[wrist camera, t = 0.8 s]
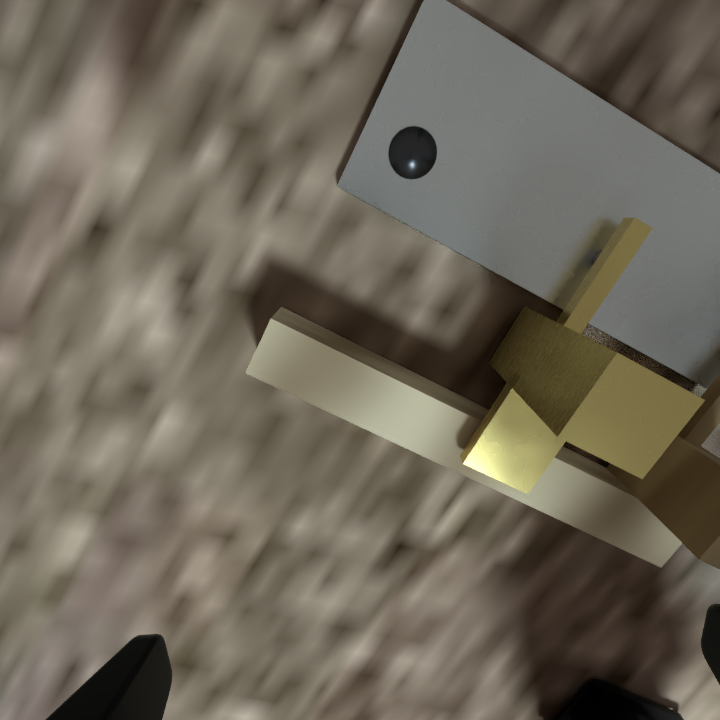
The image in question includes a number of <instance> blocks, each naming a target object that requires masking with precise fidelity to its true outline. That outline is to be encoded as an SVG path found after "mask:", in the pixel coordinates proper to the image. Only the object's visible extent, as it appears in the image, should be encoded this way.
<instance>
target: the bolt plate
mask: <svg viewBox="0 0 720 720" xmlns="http://www.w3.org/2000/svg"><path fill="white" fill-rule="evenodd" d="M337 187H339V188H341V189H342V190H344V191H346V192H348V193H350V194H352V195H353V196H355V197H357V198H359V199H361V200H363V201H364V202H366V203H368V204H370V205H372V206H374V207H375V208H377V209H379V210H381V211H383V212H385V213H386V214H388V215H390V216H392V217H394V218H396V219H397V220H399V221H401V222H403V223H405V224H406V225H408V226H410V227H412V228H414V229H416V230H417V231H419V232H421V233H423V234H425V235H427V236H428V237H430V238H432V239H434V240H436V241H438V242H439V243H441V244H443V245H445V246H447V247H449V248H450V249H452V250H454V251H456V252H458V253H460V254H461V255H463V256H465V257H467V258H469V259H470V260H472V261H474V262H476V263H478V264H480V265H481V266H483V267H485V268H487V269H489V270H491V271H492V272H494V273H496V274H498V275H500V276H502V277H503V278H505V279H507V280H509V281H511V282H513V283H514V284H516V285H518V286H520V287H522V288H524V289H525V290H527V291H529V292H531V293H533V294H534V295H536V296H538V297H540V298H542V299H544V300H545V301H547V302H549V303H551V304H553V305H555V306H556V307H558V308H560V309H562V310H564V309H565V307H566V306H567V304H568V302H569V301H570V299H571V298H572V296H573V295H574V293H575V292H576V290H577V289H578V287H579V286H580V284H581V283H582V281H583V280H584V278H585V276H586V275H587V273H588V272H589V270H590V269H591V267H592V266H593V265H592V259H593V257H594V255H595V254H596V253H597V252H599V251H601V250H603V249H604V247H605V246H606V244H607V243H608V241H609V240H610V238H611V237H612V235H613V234H614V232H615V231H616V229H617V228H618V226H619V225H620V223H621V221H622V220H623V218H633V217H635V218H637V219H638V220H640V221H642V222H643V223H645V224H647V225H648V226H650V227H652V230H651V231H650V233H649V234H648V236H647V237H646V239H645V240H644V242H643V243H642V245H641V246H640V248H639V249H638V251H637V252H636V254H635V255H634V257H633V258H632V260H631V261H630V262H629V264H628V265H627V267H626V268H625V270H624V271H623V273H622V274H621V276H620V277H619V279H618V280H617V282H616V283H615V285H614V286H613V288H612V289H611V291H610V292H609V294H608V295H607V296H606V298H605V299H604V301H603V302H602V304H601V305H600V307H599V308H598V310H597V311H596V313H595V314H594V316H593V317H592V319H591V320H590V322H589V323H588V324H589V325H591V326H593V327H595V328H597V329H599V330H600V331H602V332H604V333H606V334H608V335H609V336H611V337H613V338H615V339H617V340H619V341H620V342H622V343H624V344H626V345H628V346H630V347H631V348H633V349H635V350H637V351H639V352H641V353H642V354H644V355H646V356H648V357H650V358H652V359H653V360H655V361H657V362H659V363H661V364H663V365H664V366H666V367H668V368H670V369H672V370H673V371H675V372H677V373H679V374H681V375H683V376H684V377H686V378H688V379H690V380H692V381H694V382H695V383H697V384H699V385H701V386H703V387H705V388H706V389H708V388H709V386H710V385H711V384H712V383H713V381H714V380H715V379H716V377H717V376H718V375H719V374H720V174H719V173H718V172H716V171H715V170H713V169H711V168H710V167H708V166H707V165H705V164H704V163H702V162H700V161H699V160H697V159H696V158H694V157H693V156H691V155H689V154H688V153H686V152H685V151H683V150H682V149H680V148H678V147H677V146H675V145H674V144H672V143H670V142H669V141H667V140H666V139H664V138H663V137H661V136H659V135H658V134H656V133H655V132H653V131H652V130H650V129H648V128H647V127H645V126H644V125H642V124H641V123H639V122H637V121H636V120H634V119H633V118H631V117H629V116H628V115H626V114H625V113H623V112H622V111H620V110H618V109H617V108H615V107H614V106H612V105H611V104H609V103H607V102H606V101H604V100H603V99H601V98H600V97H598V96H596V95H595V94H593V93H592V92H590V91H589V90H587V89H585V88H584V87H582V86H581V85H579V84H577V83H576V82H574V81H573V80H571V79H570V78H568V77H566V76H565V75H563V74H562V73H560V72H559V71H557V70H555V69H554V68H552V67H551V66H549V65H548V64H546V63H544V62H543V61H541V60H540V59H538V58H536V57H535V56H533V55H532V54H530V53H529V52H527V51H525V50H524V49H522V48H521V47H519V46H518V45H516V44H514V43H513V42H511V41H510V40H508V39H507V38H505V37H503V36H502V35H500V34H499V33H497V32H495V31H494V30H492V29H491V28H489V27H488V26H486V25H484V24H483V23H481V22H480V21H478V20H477V19H475V18H473V17H472V16H470V15H469V14H467V13H466V12H464V11H462V10H461V9H459V8H458V7H456V6H455V5H453V4H451V3H450V2H448V1H447V0H424V1H423V3H422V5H421V7H420V9H419V11H418V14H417V16H416V18H415V20H414V22H413V24H412V26H411V28H410V31H409V33H408V35H407V37H406V39H405V41H404V43H403V46H402V48H401V50H400V52H399V54H398V56H397V58H396V61H395V63H394V65H393V67H392V69H391V71H390V73H389V76H388V78H387V80H386V82H385V84H384V86H383V88H382V91H381V93H380V95H379V97H378V99H377V101H376V103H375V106H374V108H373V110H372V112H371V114H370V116H369V118H368V120H367V123H366V125H365V127H364V129H363V131H362V133H361V135H360V138H359V140H358V142H357V144H356V146H355V148H354V150H353V153H352V155H351V157H350V159H349V161H348V163H347V165H346V168H345V170H344V172H343V174H342V176H341V178H340V180H339V183H338V185H337Z"/></svg>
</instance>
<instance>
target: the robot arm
mask: <svg viewBox="0 0 720 720" xmlns="http://www.w3.org/2000/svg"><path fill="white" fill-rule="evenodd" d="M701 648H702V652H703V655H704V657H705V659H706V661H707V663H708V665H709V667H710V668H711V670H712V672H713V674H714V675H715V677H716V679H717V681H718V682H719V684H720V604H713V605H711V606H710V607H709V608H708V610H707V614H706V619H705V623H704V628H703V633H702V638H701ZM171 682H172V669H171V664H170V660H169V656H168V652H167V648H166V644H165V641H164V638H163V637H162V636H161V635H159V634H150V635H139V636H136V637H134V638H133V639H132V640H130V641H129V642H128V643H127V644H126V645H125V646H124V647H123V648H122V649H121V650H120V651H119V652H118V653H116V654H115V655H114V656H113V657H112V658H111V659H110V660H109V661H108V662H107V663H106V664H105V665H104V666H103V667H101V668H100V669H99V670H98V671H97V672H96V673H95V674H94V675H93V676H92V677H91V678H90V679H89V680H87V681H86V682H85V683H84V684H83V685H82V686H81V687H80V688H79V689H78V690H77V691H76V692H75V693H74V694H72V695H71V696H70V697H69V698H68V699H67V700H66V701H65V702H64V703H63V704H62V705H61V706H60V707H58V708H57V709H56V710H55V711H54V712H53V713H52V714H51V715H50V716H49V717H48V718H47V719H46V720H162V718H163V714H164V711H165V707H166V703H167V699H168V696H169V692H170V688H171ZM554 720H684V719H683V718H682V716H681V715H680V714H679V713H678V712H675V711H673V710H670V709H668V708H666V707H663V706H661V705H658V704H656V703H653V702H651V701H649V700H646V699H644V698H641V697H639V696H637V695H634V694H632V693H629V692H627V691H625V690H622V689H620V688H617V687H615V686H613V685H610V684H608V683H605V682H603V681H600V680H597V679H593V680H590V681H588V682H587V683H586V684H585V685H584V686H583V687H582V688H581V690H580V691H579V692H578V693H577V694H576V695H575V696H574V697H573V699H572V700H571V701H570V702H569V703H568V704H567V705H566V707H565V708H564V709H563V710H562V711H561V712H560V713H559V714H558V716H557V717H556V718H555V719H554Z"/></svg>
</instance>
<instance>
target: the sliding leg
mask: <svg viewBox="0 0 720 720" xmlns="http://www.w3.org/2000/svg"><path fill="white" fill-rule="evenodd" d="M651 230H652V227H650V226H648V225H647V224H645V223H643V222H642V221H640V220H638V219H637V218H635V217H633V218H623V220H622V221H621V223H620V225H619V226H618V228H617V229H616V231H615V232H614V234H613V235H612V237H611V238H610V240H609V241H608V243H607V244H606V246H605V247H604V249H603V250H601V251H599V252H597V253H596V254H595V255H594V257H593V259H592V265H593V266H592V267H591V269H590V270H589V272H588V273H587V275H586V276H585V278H584V280H583V281H582V283H581V284H580V286H579V287H578V289H577V290H576V292H575V293H574V295H573V296H572V298H571V299H570V301H569V302H568V304H567V306H566V307H565V309H564V310H563V312H562V313H561V315H560V316H559V318H558V319H557V321H556V322H555V321H553V320H551V319H549V318H548V317H546V316H544V315H542V314H540V313H538V312H536V311H534V310H532V309H530V308H528V307H526V306H524V308H523V309H522V311H521V312H520V314H519V315H518V317H517V319H516V320H515V322H514V323H513V325H512V327H511V328H510V330H509V331H508V333H507V335H506V336H505V338H504V339H503V341H502V343H501V344H500V346H499V347H498V349H497V351H496V352H495V354H494V355H493V357H492V359H491V360H490V362H489V364H490V365H491V366H492V367H493V368H494V369H495V370H496V371H497V372H498V374H499V375H500V376H501V377H502V378H503V379H504V380H505V381H506V382H507V384H506V385H505V387H504V388H503V390H502V391H501V393H500V394H499V396H498V397H497V399H496V401H495V402H494V404H493V405H492V407H491V408H490V410H489V411H488V413H487V414H486V416H485V418H484V419H483V421H482V422H481V424H480V425H479V427H478V428H477V430H476V431H475V433H474V435H473V436H472V438H471V439H470V441H469V442H468V444H467V445H466V447H465V448H464V450H463V451H462V453H461V455H460V458H461V461H462V463H463V464H464V465H466V466H469V467H471V468H473V469H475V470H477V471H479V472H481V473H483V474H486V475H488V476H490V477H492V478H494V479H496V480H498V481H500V482H502V483H505V484H507V485H509V486H511V487H513V488H515V489H517V490H519V491H522V492H524V493H526V494H529V492H530V491H531V489H532V488H533V487H534V485H535V484H536V482H537V481H538V480H539V478H540V477H541V475H542V474H543V473H544V471H545V470H546V468H547V467H548V466H549V464H550V463H551V461H552V460H553V459H554V457H555V456H556V455H557V453H558V452H559V450H560V449H561V448H562V446H563V445H564V443H565V442H566V441H567V442H569V443H571V444H573V445H575V446H577V447H579V448H581V449H583V450H585V451H587V452H589V453H591V454H593V455H595V456H597V457H599V458H601V459H603V460H605V461H607V462H609V463H611V464H613V465H615V466H617V467H619V468H621V469H623V470H625V471H627V472H629V473H631V474H633V475H635V476H637V477H639V478H641V479H643V478H644V477H645V475H646V474H647V473H648V472H649V470H650V469H651V468H652V467H653V465H654V464H655V463H656V462H657V460H658V459H659V458H660V457H661V455H662V454H663V453H664V452H665V450H666V449H667V448H668V446H669V445H670V444H671V443H672V441H673V440H674V439H675V438H676V436H677V435H678V434H679V433H680V431H681V430H682V429H683V428H684V426H685V425H686V424H687V423H688V421H689V420H690V419H691V418H692V416H693V415H694V414H695V413H696V411H697V410H698V409H699V407H700V406H701V405H702V404H703V402H704V401H705V400H704V399H702V398H700V397H699V396H697V395H695V394H693V393H691V392H689V391H687V390H686V389H684V388H682V387H680V386H678V385H676V384H675V383H673V382H671V381H669V380H667V379H665V378H663V377H662V376H660V375H658V374H656V373H654V372H652V371H651V370H649V369H647V368H645V367H643V366H641V365H640V364H638V363H636V362H634V361H632V360H630V359H628V358H627V357H625V356H623V355H621V354H619V353H617V352H615V351H613V350H611V349H609V348H607V347H605V346H603V345H601V344H599V343H597V342H595V341H593V340H591V339H589V338H587V337H585V336H583V335H581V333H582V332H583V330H584V329H585V328H586V326H587V325H588V323H589V322H590V320H591V319H592V317H593V316H594V314H595V313H596V311H597V310H598V308H599V307H600V305H601V304H602V302H603V301H604V299H605V298H606V296H607V295H608V294H609V292H610V291H611V289H612V288H613V286H614V285H615V283H616V282H617V280H618V279H619V277H620V276H621V274H622V273H623V271H624V270H625V268H626V267H627V265H628V264H629V262H630V261H631V260H632V258H633V257H634V255H635V254H636V252H637V251H638V249H639V248H640V246H641V245H642V243H643V242H644V240H645V239H646V237H647V236H648V234H649V233H650V231H651Z"/></svg>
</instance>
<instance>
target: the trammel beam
mask: <svg viewBox="0 0 720 720" xmlns="http://www.w3.org/2000/svg"><path fill="white" fill-rule="evenodd" d="M246 374H248V375H250V376H253V377H255V378H257V379H259V380H261V381H263V382H265V383H268V384H270V385H272V386H274V387H276V388H278V389H280V390H283V391H285V392H287V393H289V394H291V395H293V396H295V397H297V398H300V399H302V400H304V401H306V402H308V403H310V404H312V405H315V406H317V407H319V408H321V409H323V410H325V411H327V412H330V413H332V414H334V415H336V416H338V417H340V418H342V419H344V420H347V421H349V422H351V423H353V424H355V425H357V426H359V427H362V428H364V429H366V430H368V431H370V432H372V433H374V434H377V435H379V436H381V437H383V438H385V439H387V440H389V441H391V442H394V443H396V444H398V445H400V446H402V447H404V448H406V449H409V450H411V451H413V452H415V453H417V454H419V455H421V456H424V457H426V458H428V459H430V460H432V461H434V462H436V463H438V464H441V465H443V466H445V467H447V468H449V469H451V470H453V471H456V472H458V473H460V474H462V475H464V476H466V477H468V478H470V479H473V480H475V481H477V482H479V483H481V484H483V485H485V486H488V487H490V488H492V489H494V490H496V491H498V492H500V493H503V494H505V495H507V496H509V497H511V498H513V499H515V500H517V501H520V502H522V503H524V504H526V505H528V506H530V507H532V508H535V509H537V510H539V511H541V512H543V513H545V514H547V515H550V516H552V517H554V518H556V519H558V520H560V521H562V522H564V523H567V524H569V525H571V526H573V527H575V528H577V529H579V530H582V531H584V532H586V533H588V534H590V535H592V536H594V537H597V538H599V539H601V540H603V541H605V542H607V543H609V544H611V545H614V546H616V547H618V548H620V549H622V550H624V551H626V552H629V553H631V554H633V555H635V556H637V557H639V558H641V559H644V560H646V561H648V562H650V563H652V564H654V565H656V566H658V567H661V568H662V566H663V565H664V564H665V563H666V562H667V561H668V559H669V558H670V557H671V556H672V555H673V554H674V553H675V551H676V550H677V549H678V548H679V547H680V546H681V544H682V543H683V544H684V545H685V546H686V547H687V548H688V549H689V550H690V551H691V552H692V553H693V554H694V555H695V556H696V557H697V558H698V559H700V560H702V561H704V562H706V563H708V564H710V565H712V566H714V567H716V568H718V569H720V458H718V457H717V456H715V455H713V454H712V453H710V452H709V451H707V450H706V449H704V448H703V447H701V445H702V443H703V442H704V441H705V440H706V438H707V437H708V436H709V435H710V434H711V432H712V431H713V430H714V429H715V427H716V426H717V425H718V424H719V423H720V374H719V375H718V376H717V377H716V379H715V380H714V381H713V383H712V384H711V385H710V386H709V388H708V389H707V390H706V391H705V393H704V394H703V395H702V396H701V398H702V399H704V400H705V401H704V402H703V404H702V405H701V406H700V407H699V409H698V410H697V411H696V413H695V414H694V415H693V416H692V418H691V419H690V420H689V421H688V423H687V424H686V425H685V426H684V428H683V429H682V430H681V431H680V433H679V434H678V435H677V436H676V438H675V439H674V440H673V441H672V443H671V444H670V445H669V446H668V448H667V449H666V450H665V452H664V453H663V454H662V455H661V457H660V458H659V459H658V460H657V462H656V463H655V464H654V465H653V467H652V468H651V469H650V470H649V472H648V473H647V474H646V475H645V477H644V478H643V479H641V478H639V477H637V476H635V475H633V474H631V473H629V472H627V471H625V470H623V469H621V468H619V467H617V466H615V465H613V464H611V463H610V464H609V465H608V467H607V468H606V467H604V466H602V465H600V464H598V463H596V462H594V461H592V460H590V459H587V458H585V457H583V456H581V455H579V454H577V453H575V452H573V451H571V450H569V449H567V448H565V447H563V446H562V448H561V449H560V450H559V452H558V453H557V455H556V456H555V457H554V459H553V460H552V461H551V463H550V464H549V466H548V467H547V468H546V470H545V471H544V473H543V474H542V475H541V477H540V478H539V480H538V481H537V482H536V484H535V485H534V487H533V488H532V489H531V491H530V492H529V494H526V493H524V492H522V491H519V490H517V489H515V488H513V487H511V486H509V485H507V484H505V483H502V482H500V481H498V480H496V479H494V478H492V477H490V476H488V475H486V474H483V473H481V472H479V471H477V470H475V469H473V468H471V467H469V466H466V465H464V464H463V463H462V461H461V458H460V455H461V453H462V451H463V450H464V448H465V447H466V445H467V444H468V442H469V441H470V439H471V438H472V436H473V435H474V433H475V431H476V430H477V428H478V427H479V425H480V424H481V422H482V421H483V419H484V418H485V416H486V414H487V413H488V411H489V409H487V408H485V407H483V406H481V405H479V404H477V403H475V402H473V401H471V400H469V399H467V398H465V397H463V396H461V395H459V394H456V393H454V392H452V391H450V390H448V389H446V388H444V387H442V386H440V385H438V384H436V383H434V382H432V381H430V380H428V379H426V378H424V377H422V376H420V375H418V374H416V373H414V372H412V371H410V370H408V369H406V368H404V367H402V366H400V365H398V364H396V363H394V362H392V361H390V360H388V359H386V358H384V357H382V356H380V355H378V354H376V353H374V352H372V351H370V350H368V349H366V348H364V347H362V346H360V345H358V344H356V343H354V342H352V341H350V340H348V339H346V338H344V337H342V336H340V335H338V334H336V333H334V332H332V331H330V330H328V329H326V328H323V327H321V326H319V325H317V324H315V323H313V322H311V321H309V320H307V319H305V318H303V317H301V316H299V315H297V314H295V313H293V312H291V311H289V310H287V309H285V308H283V307H281V308H280V309H279V310H278V311H277V312H276V313H275V314H274V315H273V316H272V318H271V319H270V321H269V323H268V325H267V328H266V330H265V332H264V334H263V336H262V338H261V341H260V343H259V345H258V347H257V349H256V351H255V353H254V356H253V358H252V360H251V362H250V364H249V366H248V369H247V371H246Z"/></svg>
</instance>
